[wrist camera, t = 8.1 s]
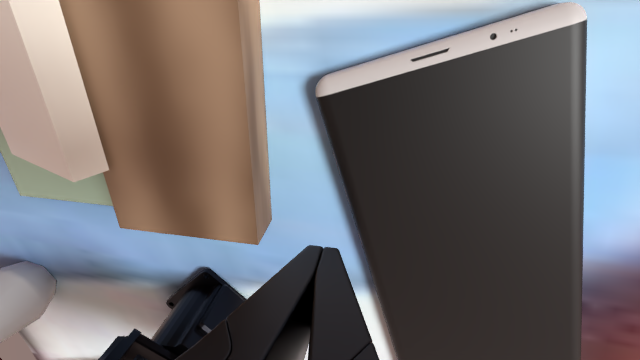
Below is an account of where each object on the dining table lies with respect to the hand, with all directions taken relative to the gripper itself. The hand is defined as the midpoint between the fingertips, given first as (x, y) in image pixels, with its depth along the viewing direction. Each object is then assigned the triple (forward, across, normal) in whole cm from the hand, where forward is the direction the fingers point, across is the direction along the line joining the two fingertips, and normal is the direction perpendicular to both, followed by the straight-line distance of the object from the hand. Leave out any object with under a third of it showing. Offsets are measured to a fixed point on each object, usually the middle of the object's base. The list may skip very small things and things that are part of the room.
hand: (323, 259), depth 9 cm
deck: (+12, +11, -3) cm, 16 cm away
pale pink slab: (+10, +18, -3) cm, 21 cm away
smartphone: (+13, -8, +8) cm, 17 cm away
